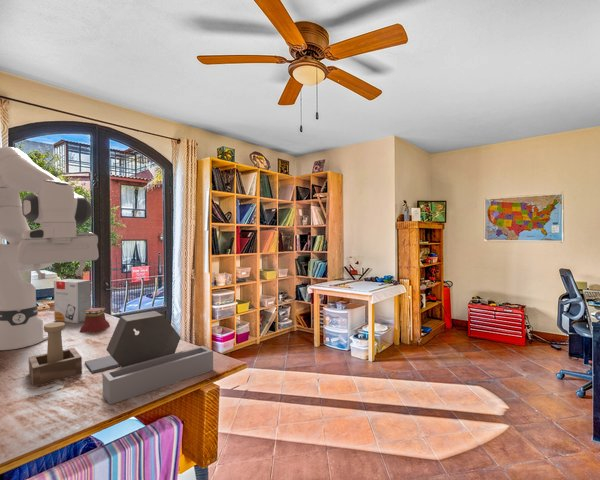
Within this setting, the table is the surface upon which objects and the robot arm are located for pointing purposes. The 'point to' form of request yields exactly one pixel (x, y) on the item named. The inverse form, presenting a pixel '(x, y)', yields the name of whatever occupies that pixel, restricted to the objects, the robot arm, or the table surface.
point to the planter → (142, 338)
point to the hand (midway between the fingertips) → (61, 277)
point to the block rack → (155, 373)
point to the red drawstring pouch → (94, 320)
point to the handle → (54, 341)
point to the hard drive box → (71, 300)
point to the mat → (101, 364)
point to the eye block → (54, 367)
